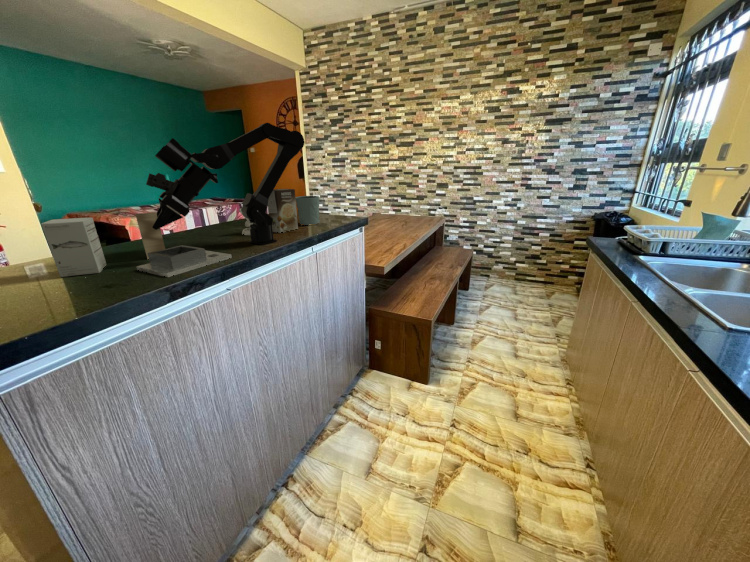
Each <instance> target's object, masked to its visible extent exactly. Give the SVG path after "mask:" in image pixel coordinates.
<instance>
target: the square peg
mask: <svg viewBox="0 0 750 562" xmlns="http://www.w3.org/2000/svg"><path fill="white" fill-rule="evenodd" d="M135 218H136V221H137V222H136V223H137V225H138V229H139V233H140V237H141V240H142V244H143V248H144V252H145V254H146V258H147V260H148V259H149V257H148V254H147V253H150V252H154V251H159V250H163V249H166V246H165V242H164V237H163V234H162V229H161V228H159V229H157V230H155V229H153V228H152V226H153V225H154V223H155V221H156V219H157V212H145V213H136V214H135Z"/></svg>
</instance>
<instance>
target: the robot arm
mask: <svg viewBox="0 0 750 562" xmlns="http://www.w3.org/2000/svg"><path fill="white" fill-rule="evenodd" d="M266 139H267V140H270V141H271V142H274V143H275V144H277V151H276V155H275V157H274V159H273V160H272V162H271V164H270V166H269V167H268V169H267V171H266V173H265V175H264V176H263V178H262V180H261V181H260V183H259V185H258V187H257V189H256V190H255V192H253V193H246V195H245V198H244V200H243V201H242V202H241V203H240V204H241V205H242V206H241V207H240V209H241V211H242V214H243V215H244V216H245V217H246V218H248V219H249V221H250V223H253V224H252V225H250V227H251V230H250V235H249V236H250V240H249V243H250V244H256V245H263V246H264V245H266V244H270V243H275V242H277V241H278V239H275V238H274V232H273V230H272V222H273V218H272V217H270V216H269V213H267V211H268V200H269V197H270V195H271V193H272V191H273V190H274V189H276V188H275V187H277V186H276V185H278V182H279V180H280V179H281V177H282V175H283V174H284V171H285V170H286V169H287V167H288V164H289V163H290V162H291V160H292V159H293V158H294V157H296V156H297V155H298V154H299V153H300V152H301V150H302V149H303V148H304V146H305V139H304V136H303V134H302V133H301V132H300V131H298V130H289V129H287V128H283V127H280V126H276V125H274V124H271V123H269V122H265V123H262V124H260V125H259V126H258V127H255V128H254V129H251V130H250V131H248V132H246V133H244V134H242V135H240V136H238V137H236V138H235V139H233V140H231V141H229V142H226V143H222V144H219V145H215V146H211V147H208V148H206V149H204V150H203V151H201V152H200V153H198V152H193V153H191V152H189V150H187V149H186V148H185V147H183V146H182V145H181V144H180V143H179V142H178V141H177V140H176V139H175V138H173V137H172V138H171V139H170V140H169V141H168V142H167V143H166V144H165V145H163V147H161V149H159V150H158V152H157V153H156V154H155V155H154V157H155V158H156V159H158V160H159V161H160V162H161V163H163V164H164V165H165V166H167V167H168V168H170V169H171V170H172V171H173V172H177V171H180V172H181V173H182V172H183V171H184V173H183V174H182V175H181V176H180V177H179V178H178V179H175V180H174V181H171V180H169V179H167V178H166V175H165V174H163V173H160V172H157V173H156V174H153V173H150V172H149V173H148V175H147V176H148V177H147V180H146V183H145V185H146V186H148V187H152V188H157V189H160V190H162V192H161V194H160V195H158V196H159V197H158V203H159V207H158V209H157V211H156V213H157V219H156V221H155V223H154V225H153V226H152V228H153V229H155V230H157V229H159V228H160V229H161V228H163V227H166V226H168V225H170V224H172V223H174V222H176V221H179V220H181V219H184V217H185V218H186V217H187V215H188V214H189V213H190V212H191V211H190V203H191V202H192V201H193V200H194V198H196V197H198V196H199V195H200V194H199V193H200V192H201V191H202V190H203V189H204V188H205V186H206V185H207V184H208V183H209V181H211V182H213V183H215V184H218V183H219V180H218V173H216V172H215V173H212V172H211V171H210V170H209V169H211V170H218V169H219V170H220V169H222V168H223V167H224V166H226V165H227V164H228V163H229V162H230V161H232V160H233V159H234V158H235V157H236V156H237V155H238V154H240V153H242V152H244V151H245V150H247V149H250V148H251V147H253V146H255V145H257V144H259V143H260V142H263V141H264V140H266ZM196 163H197V164H202V165H204V166H201V167H200V166H198V165H197V164H196ZM189 165H190V166H189ZM188 166H189V167H188ZM187 167H188V168H187ZM186 168H187V169H186ZM185 169H186V170H185ZM242 214H241V215H242ZM243 215H242V216H243ZM244 216H243V217H244ZM245 217H244V218H245ZM250 227H249V228H250Z"/></svg>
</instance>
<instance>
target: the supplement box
mask: <svg viewBox="0 0 750 562" xmlns="http://www.w3.org/2000/svg"><path fill="white" fill-rule="evenodd" d="M41 228H42V230H43V233H44V235H45V239H46V241H47V243H48V247H49V249H50V252H51V255H52V257H53V261H54V263H55V266H56V268H57V271H58V274H59V277H60V278H66V277H72V276H81V275H92V274H101V272H102V271H103V270H104V269H105V268H106V267H107V266H106V265H107V262H106V258H105V255H104V251H103V247H102V246H101V245H102V244H101V242H100V237H99V235H98V233H97V229H96V225H95V222H94V218H93V217H74V218H57V219H54V218H53V219H50V220H47V221H45V222H41ZM105 266H106V267H105ZM104 267H105V268H104ZM103 268H104V269H103Z"/></svg>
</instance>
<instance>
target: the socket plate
mask: <svg viewBox="0 0 750 562" xmlns="http://www.w3.org/2000/svg"><path fill="white" fill-rule="evenodd" d="M147 254H148V257H149V260H148V261H149V263H146V264H141V265H136V266H135V268H136V271H138V270H139V272H142V271H143V273H146V272H147V274H152V275H156V276H160V277H164V276H165V278H170V277H174V276H177V275H180V274H183V273H187V272H189V271H194V270H197V269H199V268H203V267H207V266H210V265H213V264H217V263H219V261H220V262H223V261H226V260H230V259H232V254H231V253H225V252H218V251H212V250H206V249H205V248H203V247H196V246H190V245H185V244H184V245H176V246H172V247H169V248H165V249H163V250H159V251H154V252H150V253H147ZM229 258H230V259H229ZM206 265H207V266H206ZM173 275H174V276H173Z"/></svg>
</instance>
